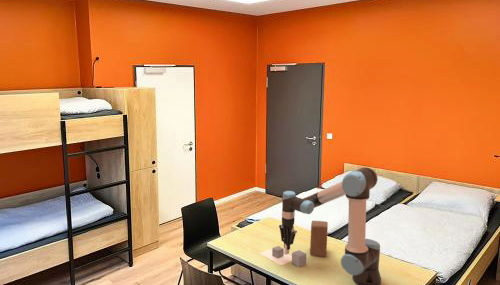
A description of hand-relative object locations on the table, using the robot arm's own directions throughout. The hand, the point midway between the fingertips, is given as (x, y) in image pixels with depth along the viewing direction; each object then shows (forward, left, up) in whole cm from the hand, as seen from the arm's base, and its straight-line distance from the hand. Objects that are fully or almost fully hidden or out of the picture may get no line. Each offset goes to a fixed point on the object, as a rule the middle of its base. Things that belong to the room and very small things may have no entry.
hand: (286, 253), depth 233 cm
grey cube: (+8, 0, -4) cm, 9 cm away
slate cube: (-7, -3, -5) cm, 9 cm away
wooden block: (-5, -23, -5) cm, 24 cm away
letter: (+8, 0, -5) cm, 9 cm away
